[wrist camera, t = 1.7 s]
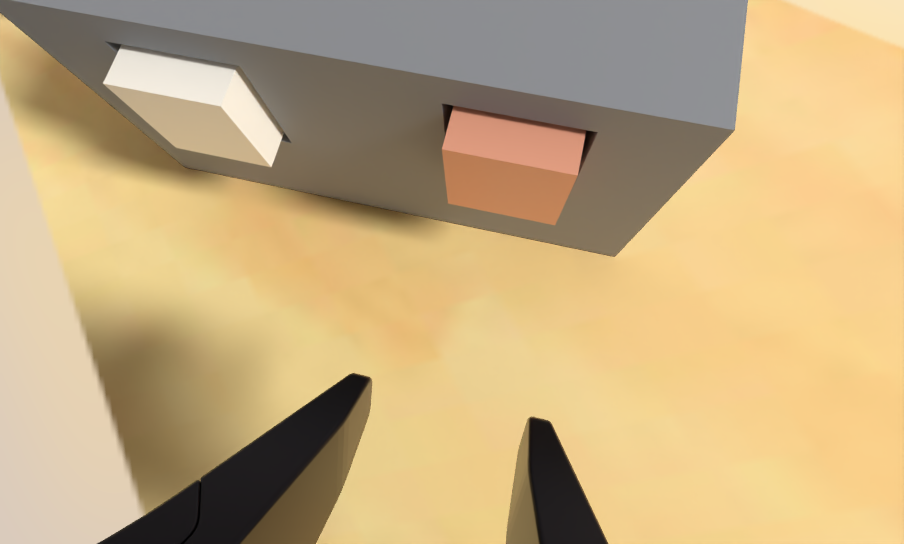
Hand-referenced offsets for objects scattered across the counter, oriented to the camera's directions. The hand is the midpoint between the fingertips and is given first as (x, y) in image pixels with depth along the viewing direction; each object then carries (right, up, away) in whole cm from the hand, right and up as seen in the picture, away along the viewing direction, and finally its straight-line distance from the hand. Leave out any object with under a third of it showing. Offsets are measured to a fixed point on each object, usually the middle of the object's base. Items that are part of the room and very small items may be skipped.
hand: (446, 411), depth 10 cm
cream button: (-9, +8, +10) cm, 15 cm away
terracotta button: (+2, +6, +9) cm, 11 cm away
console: (-2, +8, +15) cm, 18 cm away
